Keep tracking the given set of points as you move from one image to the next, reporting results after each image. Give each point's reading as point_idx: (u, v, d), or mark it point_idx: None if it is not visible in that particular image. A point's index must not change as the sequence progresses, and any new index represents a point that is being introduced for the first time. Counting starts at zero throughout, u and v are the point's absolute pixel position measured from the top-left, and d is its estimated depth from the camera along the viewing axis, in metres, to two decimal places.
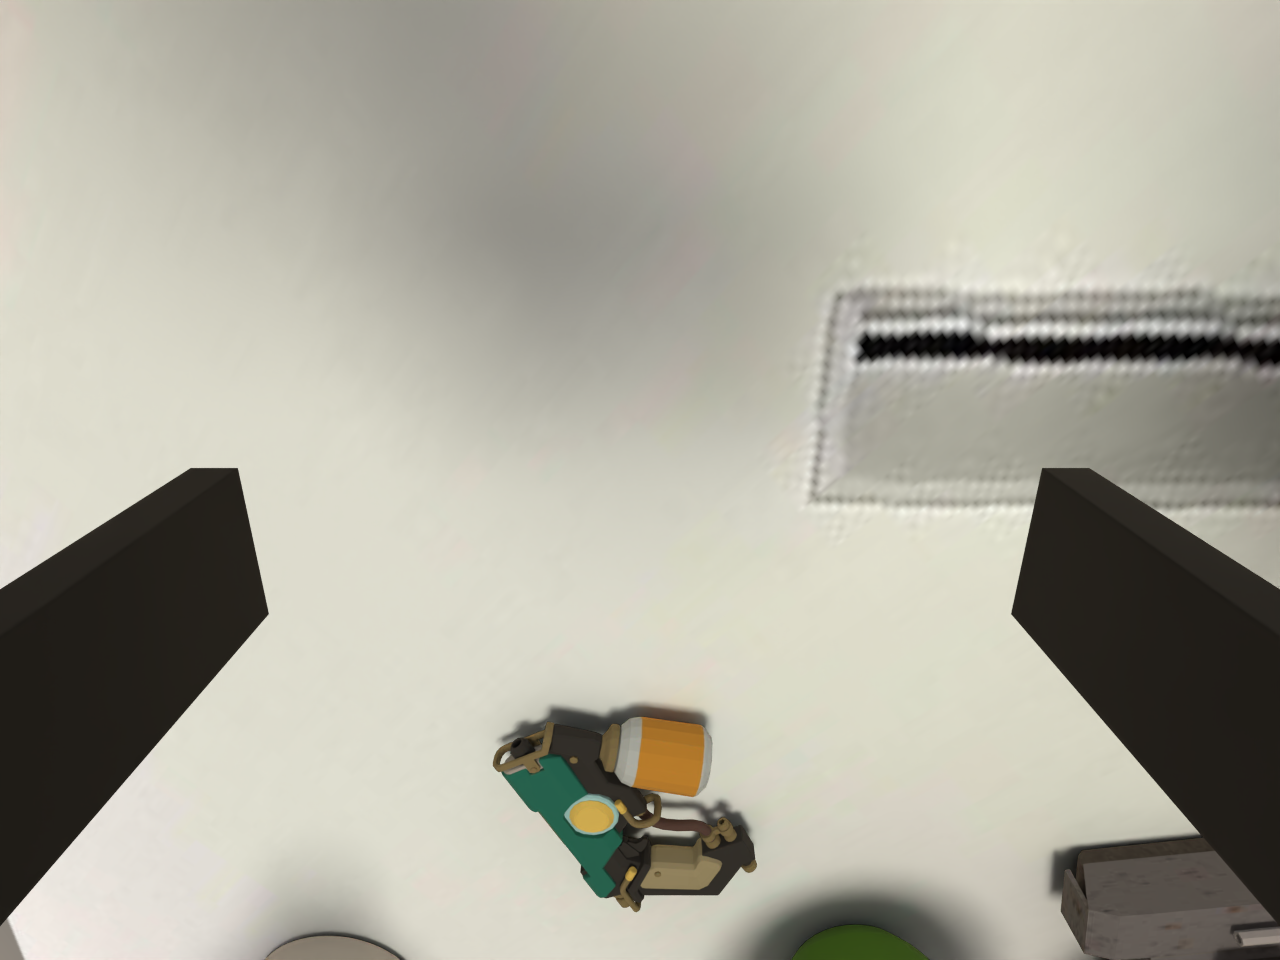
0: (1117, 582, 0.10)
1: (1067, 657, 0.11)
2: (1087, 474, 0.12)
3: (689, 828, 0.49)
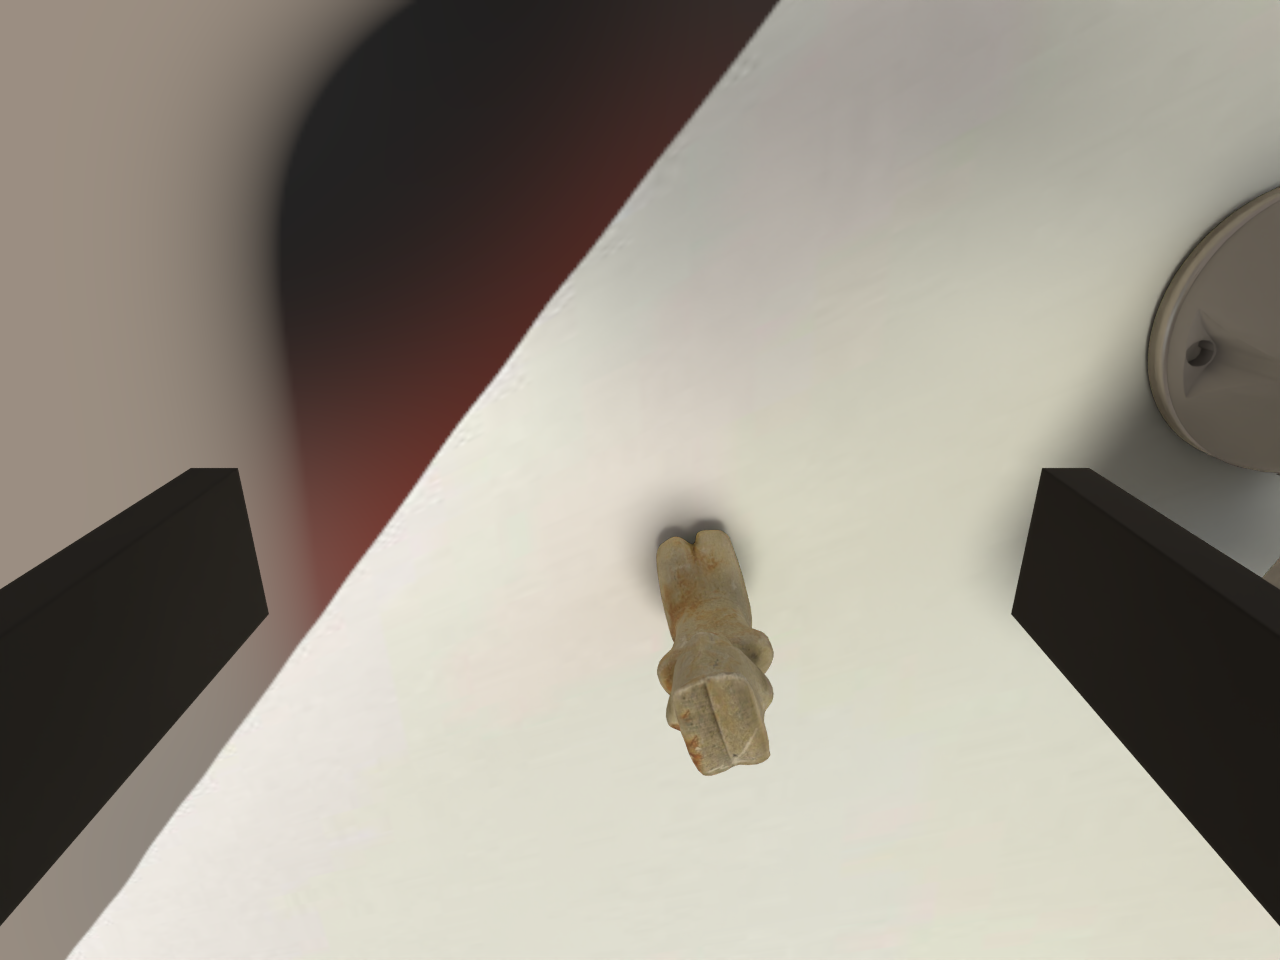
0: (1117, 582, 0.10)
1: (1068, 657, 0.11)
2: (1087, 474, 0.12)
3: None
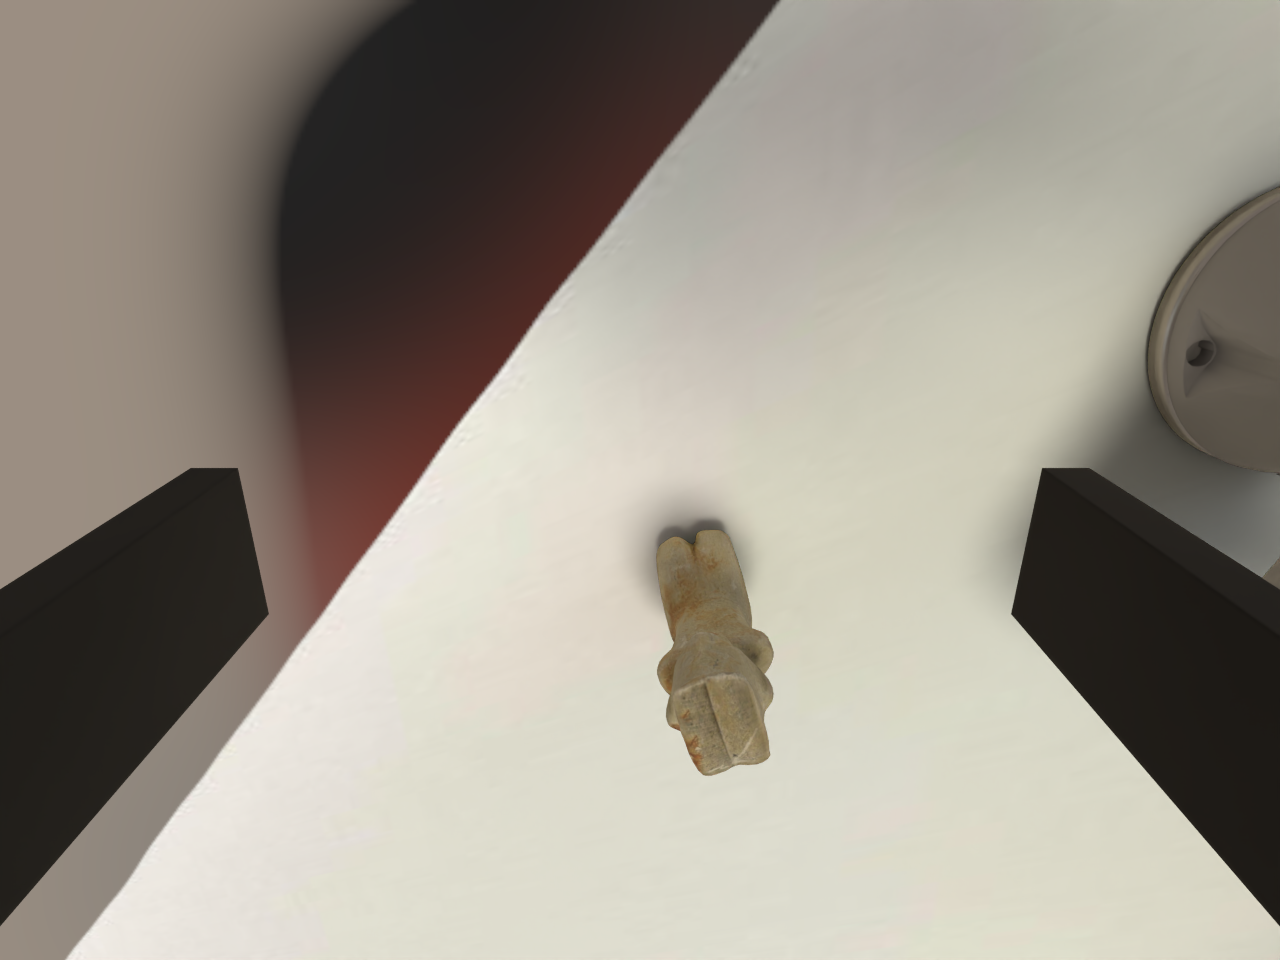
0: (1117, 582, 0.10)
1: (1068, 657, 0.11)
2: (1087, 474, 0.12)
3: None
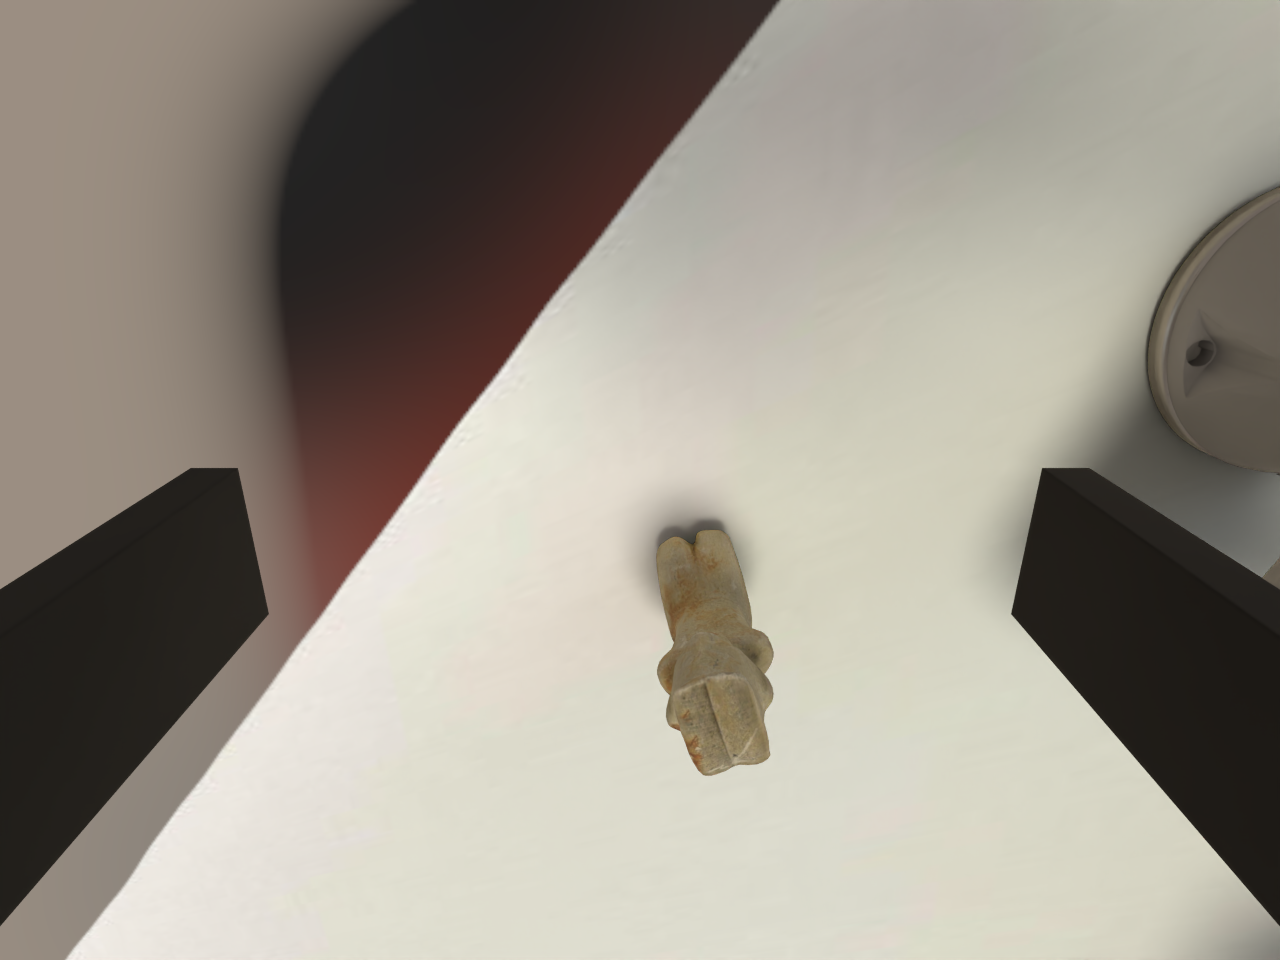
0: (1117, 582, 0.10)
1: (1068, 657, 0.11)
2: (1087, 474, 0.12)
3: None
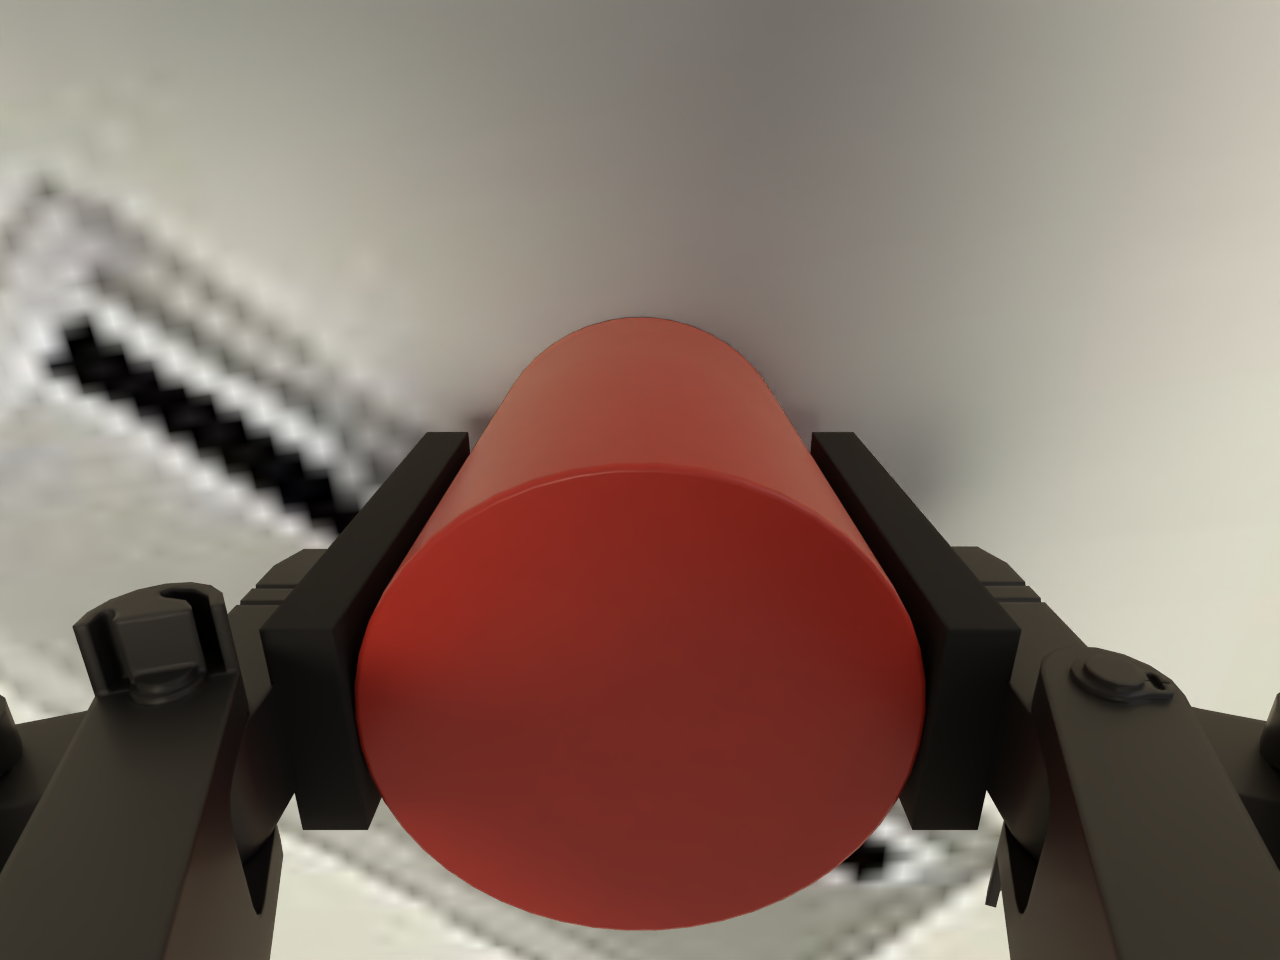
0: None
1: None
2: (847, 436, 0.13)
3: None
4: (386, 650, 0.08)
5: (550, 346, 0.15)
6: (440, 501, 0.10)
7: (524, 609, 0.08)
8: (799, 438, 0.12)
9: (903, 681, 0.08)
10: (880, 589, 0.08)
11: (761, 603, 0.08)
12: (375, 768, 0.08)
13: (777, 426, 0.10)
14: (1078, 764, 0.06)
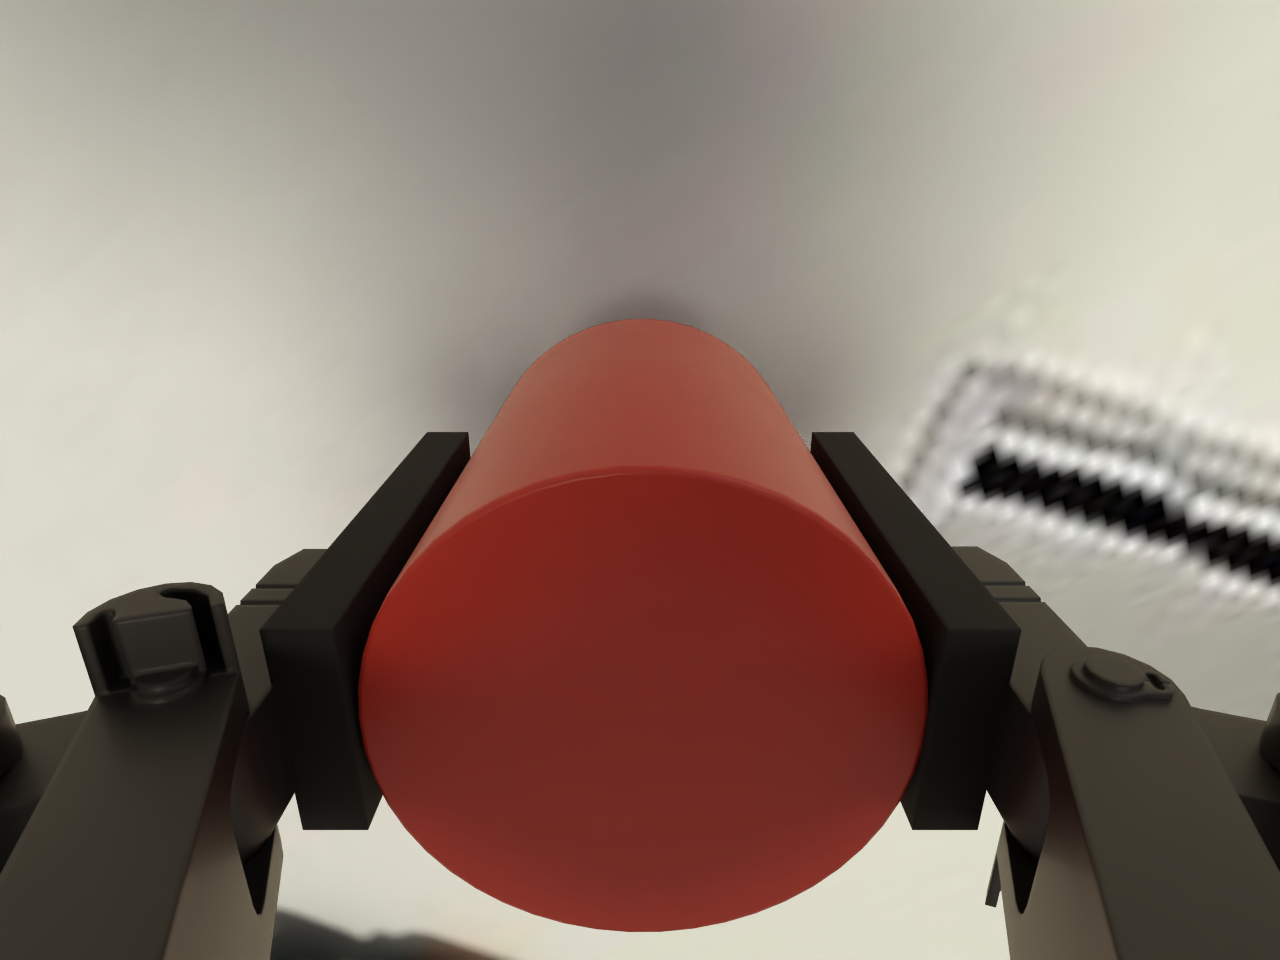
0: None
1: None
2: (847, 437, 0.13)
3: None
4: (389, 653, 0.08)
5: (552, 347, 0.15)
6: (443, 503, 0.10)
7: (527, 612, 0.08)
8: (801, 440, 0.12)
9: (906, 683, 0.08)
10: (883, 591, 0.08)
11: (764, 606, 0.08)
12: (378, 770, 0.08)
13: (779, 428, 0.10)
14: (1078, 764, 0.06)
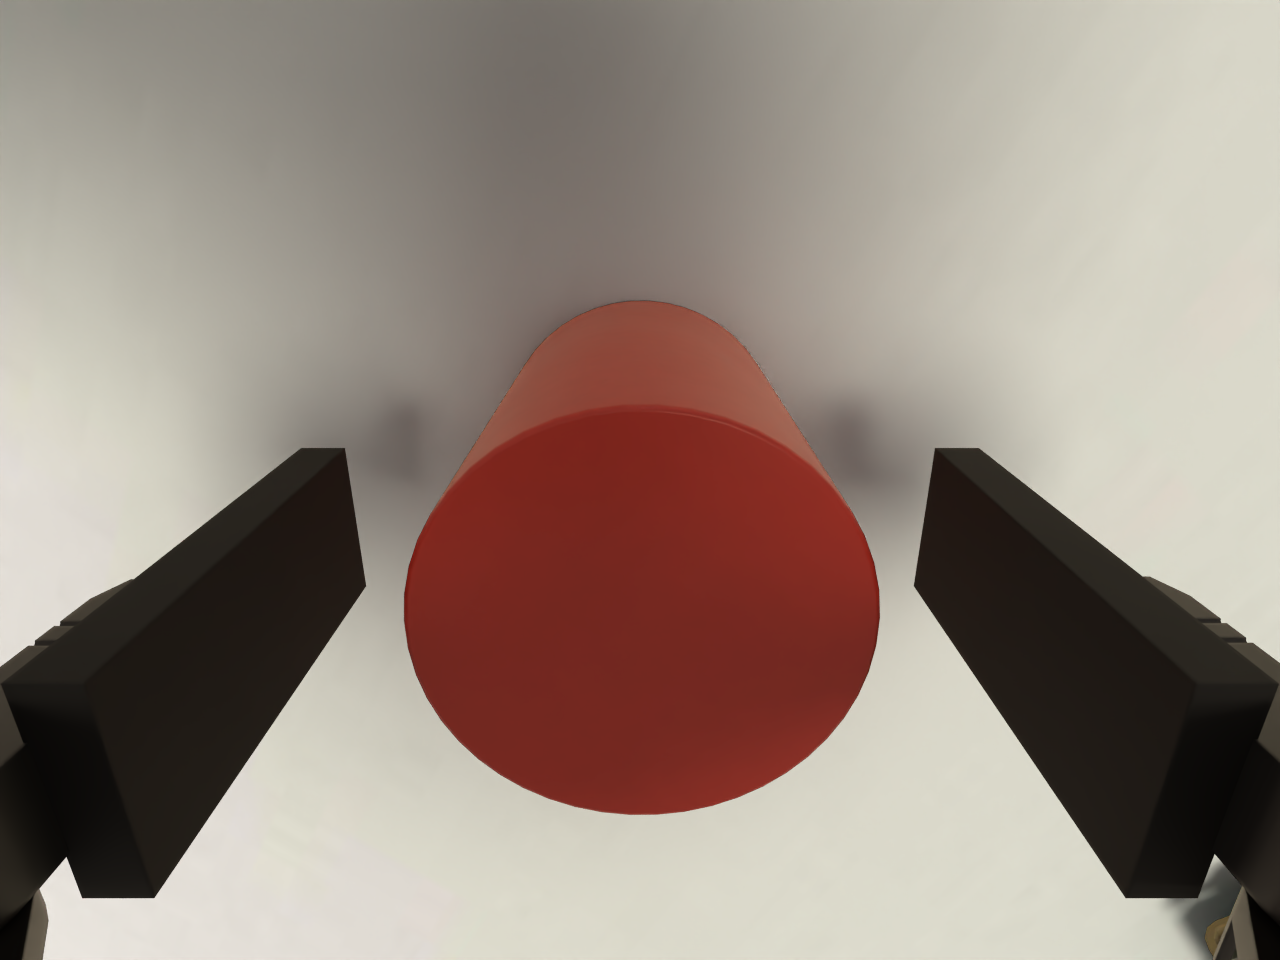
0: (986, 550, 0.11)
1: (952, 622, 0.12)
2: (974, 453, 0.13)
3: None
4: (431, 564, 0.10)
5: (560, 327, 0.17)
6: None
7: (546, 529, 0.09)
8: (781, 402, 0.13)
9: (860, 591, 0.10)
10: (839, 511, 0.09)
11: (740, 523, 0.09)
12: (419, 668, 0.10)
13: (760, 388, 0.12)
14: None
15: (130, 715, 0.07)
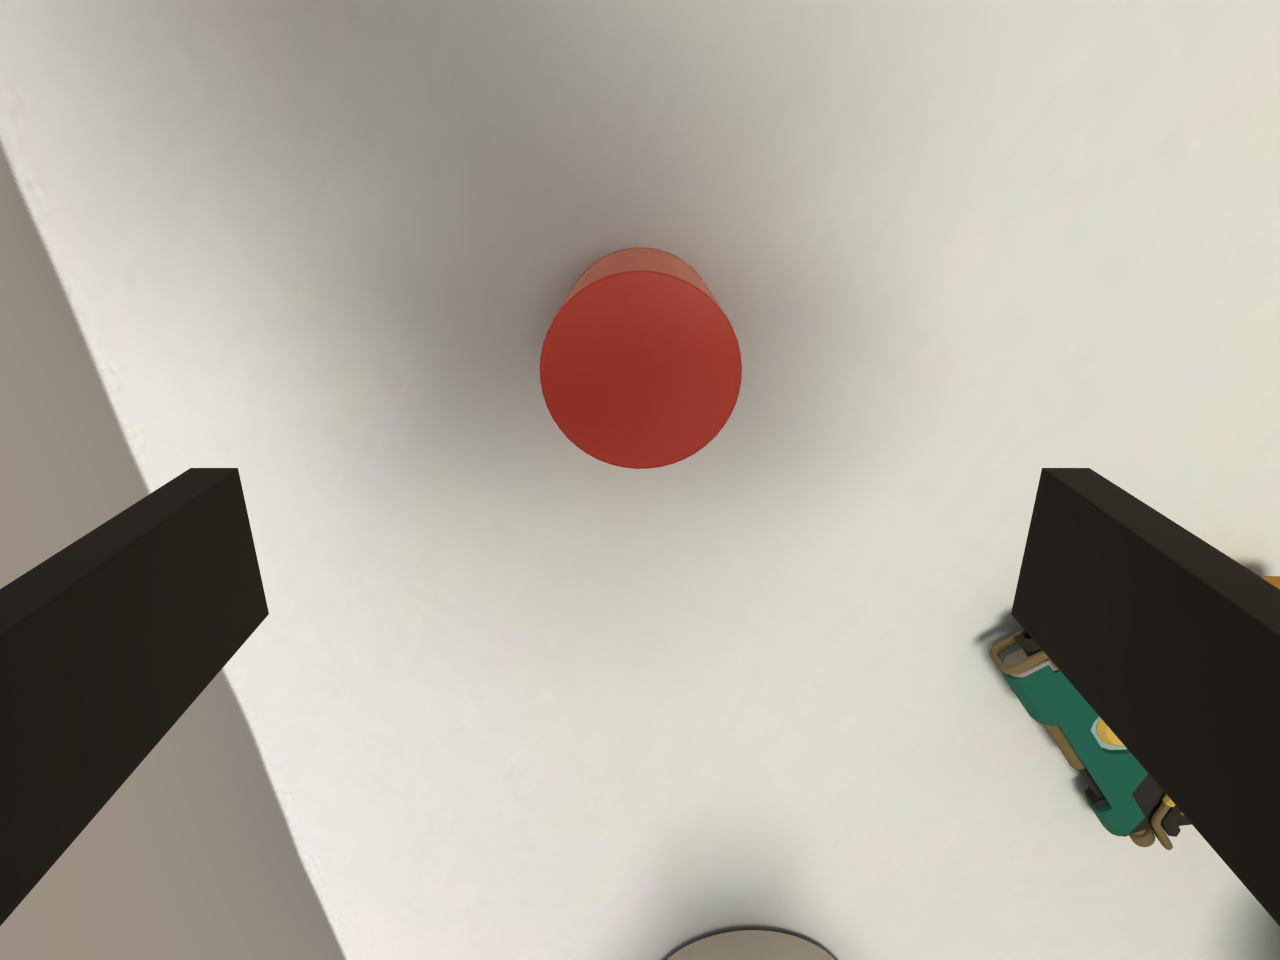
0: (1117, 583, 0.10)
1: (1068, 657, 0.11)
2: (1087, 474, 0.12)
3: None
4: (553, 341, 0.23)
5: (596, 262, 0.30)
6: (562, 305, 0.25)
7: (601, 324, 0.23)
8: (710, 292, 0.27)
9: (732, 353, 0.23)
10: (721, 316, 0.23)
11: (681, 322, 0.23)
12: (545, 391, 0.23)
13: (696, 279, 0.25)
14: None
15: None
